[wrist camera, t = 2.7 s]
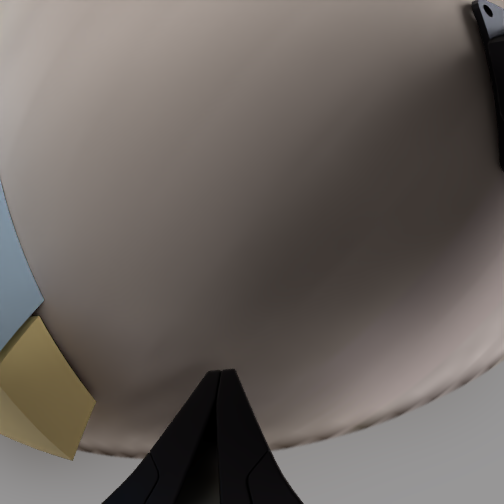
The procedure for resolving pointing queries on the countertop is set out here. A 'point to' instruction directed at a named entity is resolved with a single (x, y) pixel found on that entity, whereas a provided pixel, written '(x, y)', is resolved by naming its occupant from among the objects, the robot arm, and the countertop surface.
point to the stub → (41, 393)
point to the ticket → (14, 279)
